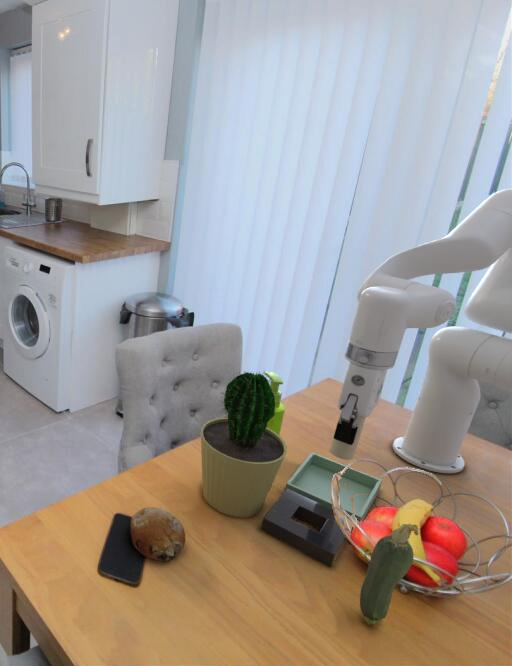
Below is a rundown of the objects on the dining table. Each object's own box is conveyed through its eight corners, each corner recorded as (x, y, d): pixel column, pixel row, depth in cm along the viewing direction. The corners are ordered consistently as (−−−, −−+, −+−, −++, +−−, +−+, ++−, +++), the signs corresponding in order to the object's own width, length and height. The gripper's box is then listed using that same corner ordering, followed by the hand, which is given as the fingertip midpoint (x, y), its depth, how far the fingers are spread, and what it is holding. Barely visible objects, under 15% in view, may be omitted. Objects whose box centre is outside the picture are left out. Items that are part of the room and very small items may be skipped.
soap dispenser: (266, 442, 117) (282, 370, 110) (279, 460, 111) (296, 385, 104) (241, 442, 118) (255, 369, 111) (252, 459, 112) (267, 384, 104)
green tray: (308, 462, 110) (311, 451, 109) (378, 491, 101) (382, 479, 100) (283, 494, 101) (286, 483, 100) (357, 529, 92) (361, 517, 91)
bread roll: (181, 549, 93) (185, 507, 93) (185, 571, 83) (189, 524, 84) (129, 537, 96) (133, 497, 96) (126, 557, 86) (131, 512, 87)
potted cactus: (277, 489, 102) (306, 363, 91) (267, 537, 91) (299, 399, 79) (201, 464, 111) (220, 346, 99) (183, 505, 99) (202, 377, 88)
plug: (333, 445, 100) (344, 405, 96) (356, 453, 97) (368, 413, 93) (327, 453, 97) (338, 413, 94) (350, 462, 94) (362, 421, 91)
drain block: (284, 499, 100) (287, 488, 98) (351, 531, 91) (355, 519, 90) (260, 529, 92) (263, 517, 91) (331, 567, 84) (334, 554, 83)
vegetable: (346, 606, 77) (379, 509, 70) (371, 603, 78) (407, 506, 70) (368, 632, 73) (405, 532, 66) (395, 629, 74) (435, 529, 66)
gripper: (384, 375, 81) (356, 463, 88) (406, 346, 91) (380, 427, 98) (332, 361, 86) (310, 445, 93) (359, 335, 97) (338, 413, 103)
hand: (346, 435), depth 96 cm, fingers closed on plug, 4 cm apart
